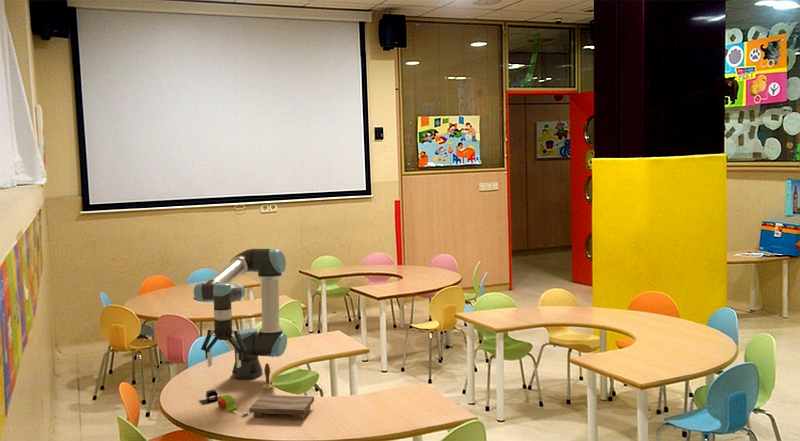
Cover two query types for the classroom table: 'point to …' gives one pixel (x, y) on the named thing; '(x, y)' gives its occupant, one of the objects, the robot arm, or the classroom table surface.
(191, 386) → the classroom table surface
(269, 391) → the hand bell
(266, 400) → the walnut stand
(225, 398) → the toy measuring tape
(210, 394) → the black arched bracket
